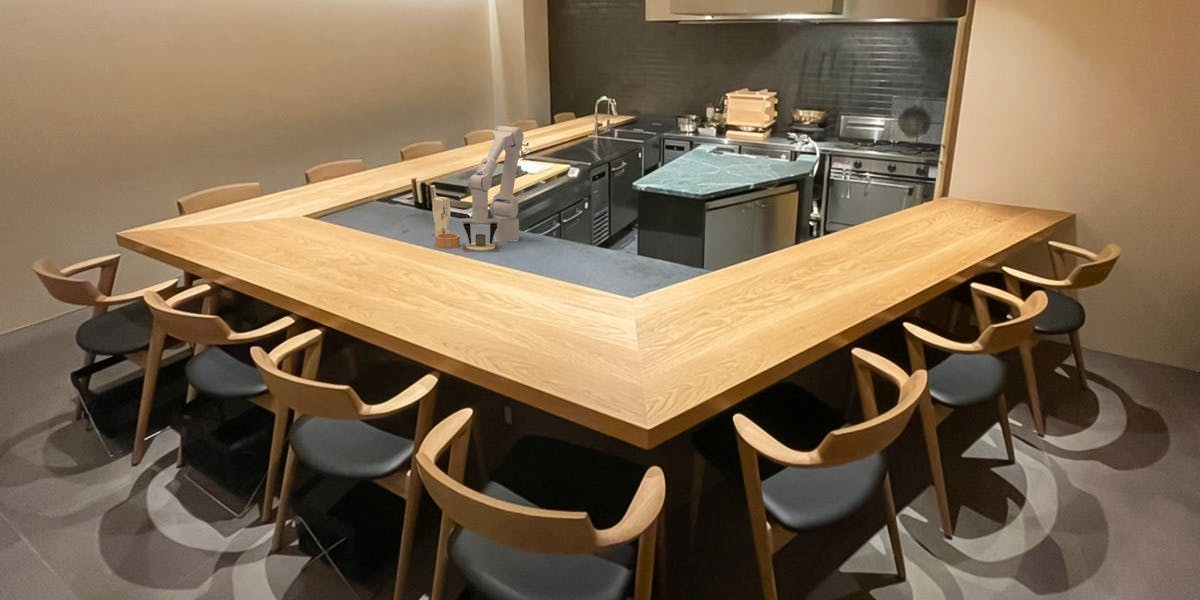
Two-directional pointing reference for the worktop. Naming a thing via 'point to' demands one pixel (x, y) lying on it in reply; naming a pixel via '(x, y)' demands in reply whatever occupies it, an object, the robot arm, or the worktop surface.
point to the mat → (480, 251)
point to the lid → (480, 244)
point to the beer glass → (441, 214)
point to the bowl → (447, 240)
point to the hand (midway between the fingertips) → (480, 243)
